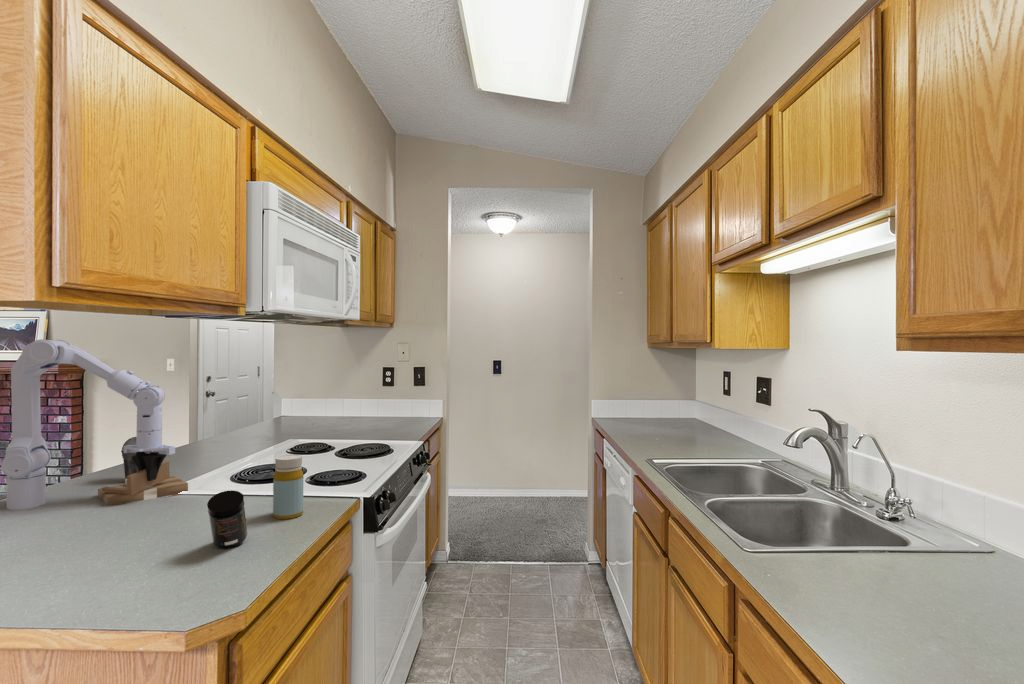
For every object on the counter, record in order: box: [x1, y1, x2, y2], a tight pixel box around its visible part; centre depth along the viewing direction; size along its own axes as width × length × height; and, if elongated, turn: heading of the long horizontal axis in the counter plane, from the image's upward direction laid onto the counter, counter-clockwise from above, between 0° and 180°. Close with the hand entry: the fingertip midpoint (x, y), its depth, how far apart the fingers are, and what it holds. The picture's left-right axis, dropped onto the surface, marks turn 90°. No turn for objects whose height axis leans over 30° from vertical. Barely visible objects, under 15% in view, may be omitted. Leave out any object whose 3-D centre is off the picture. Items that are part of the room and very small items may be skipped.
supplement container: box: [207, 490, 248, 550], centre depth 108 cm, size 7×7×10 cm
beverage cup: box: [121, 436, 139, 480], centre depth 154 cm, size 7×7×20 cm
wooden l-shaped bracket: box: [101, 460, 171, 495], centre depth 139 cm, size 9×12×5 cm
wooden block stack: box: [97, 475, 189, 507], centre depth 141 cm, size 14×18×6 cm
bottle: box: [272, 454, 304, 520], centre depth 129 cm, size 7×7×15 cm
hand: (149, 479), depth 139 cm, fingers closed on wooden l-shaped bracket
